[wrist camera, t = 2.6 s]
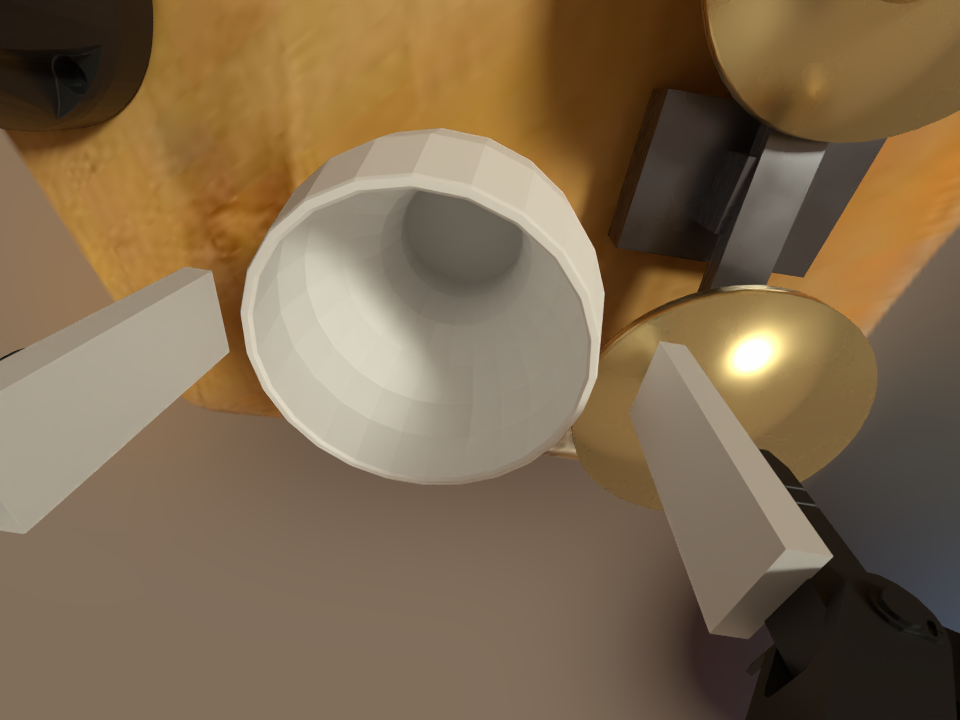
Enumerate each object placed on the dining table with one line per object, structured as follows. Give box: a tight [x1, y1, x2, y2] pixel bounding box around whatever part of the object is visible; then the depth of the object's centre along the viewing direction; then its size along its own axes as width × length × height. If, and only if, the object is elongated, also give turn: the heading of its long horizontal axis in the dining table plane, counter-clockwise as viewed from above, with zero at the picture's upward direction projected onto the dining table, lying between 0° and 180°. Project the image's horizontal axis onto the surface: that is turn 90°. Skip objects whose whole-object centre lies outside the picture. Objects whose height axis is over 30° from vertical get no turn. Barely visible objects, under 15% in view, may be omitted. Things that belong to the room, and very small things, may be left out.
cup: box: [240, 128, 605, 485], centre depth 17 cm, size 11×11×15 cm
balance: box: [571, 0, 960, 511], centre depth 17 cm, size 13×31×12 cm, turn 172°
